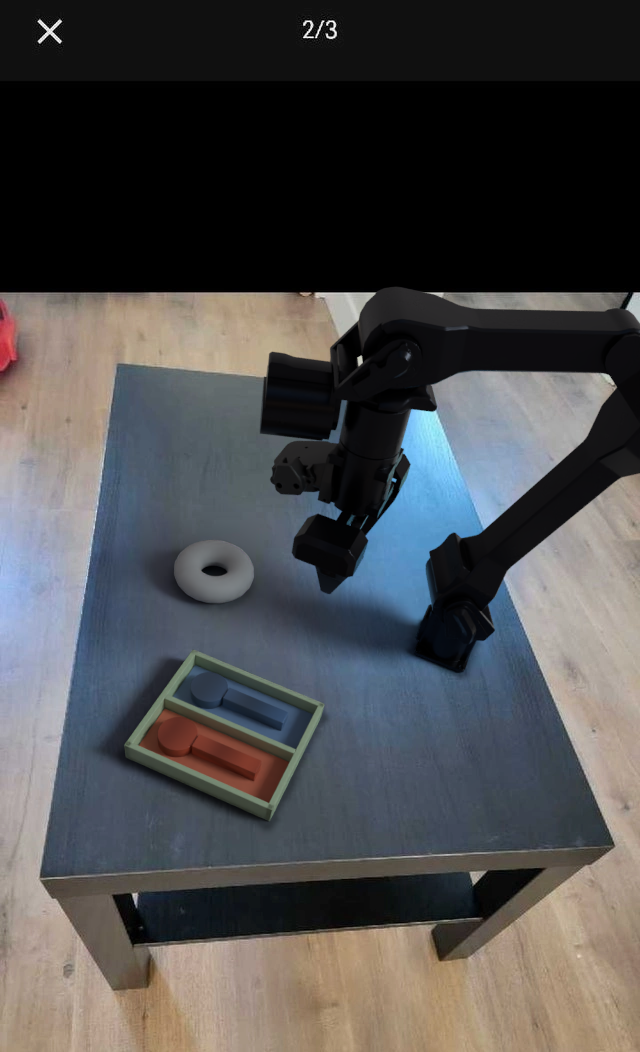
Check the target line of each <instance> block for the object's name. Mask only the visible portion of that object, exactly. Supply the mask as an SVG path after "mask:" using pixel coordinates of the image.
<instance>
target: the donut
mask: <svg viewBox="0 0 640 1052" xmlns="http://www.w3.org/2000/svg"><path fill="white" fill-rule="evenodd" d="M206 567H219V568H222V569H224V570H225V571H226V573H224V574H222V575H210V574H207V573H204V572H203V571H202V570H203V569H205V568H206ZM173 568H174V570H173V575H174V578H175V581H176V583H177V586H178V587H179V588H180V589H181V590H182V592H183V593H185V595H187V596H189V597H191V598H193V599H194V600H196V601H199V602H203V603H207V604H224V603H229V602H233V601H235V600H237V599H239V598H241V597H243V595H244V594H245V593H247V592H248V591H249V589H250V588H251V586H252V583H253V581H254V578H255V567H254V564H253V562H252V560H251V558H250V556H249V554H248V553H246V552H245V550H243V549H242V548H241V547H239V546H237V545H235V544H233V543H232V542H228V541H224V540H220V539H206V540H200V541H196V542H194V543H192V544H189V545H187V546H186V547H185V548H183V550H181V551H180V552H179V554H178V556H177V558H176V559H175V561H174V566H173Z"/></svg>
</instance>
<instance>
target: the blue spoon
mask: <svg viewBox="0 0 640 1052" xmlns="http://www.w3.org/2000/svg"><path fill="white" fill-rule="evenodd" d="M190 697H191V699H192V701H193V702H194V704H196V705H197V706H199V707H201V708H204V709H214V708H217V707H219V706H221V705H222V704H223V705H222V706H223V707H225V708H228V709H230V710H232V711H235V712H237V713H240V714H242V715H244V716H247V717H249V718H251V719H254V720H256V721H259V722H261V723H263V724H266V725H268V726H270V727H273V728H275V729H277V730H280V731H281V730H282V729H283V727H284V725H285V723H286V721H287V717H288V712H287V711H284V710H282V709H280V708H277V707H275V706H273V705H270V704H268V703H265V702H263V701H261V700H258V699H256V698H253V697H251V696H249V695H246V694H244V693H241V692H239V691H237V690H234V689H232V688H229V689H228V684H227V682H226V680H225V679H224V677H222V676H221V675H219V674H217V673H214V672H204V673H201V674H199V675H197V676H196V677H195V678H194V679H193V680H192V682H191V685H190Z"/></svg>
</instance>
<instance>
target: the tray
mask: <svg viewBox="0 0 640 1052" xmlns="http://www.w3.org/2000/svg"><path fill="white" fill-rule="evenodd" d="M204 672H214V673H217V674H219V675H221V676H222V677H224V679H225V680H226V682H227V684H228V689H229V688H232V689H234V690H237V691H239V692H241V693H244V694H246V695H249V696H251V697H253V698H256V699H258V700H261V701H263V702H265V703H268V704H270V705H273V706H275V707H277V708H280V709H282V710H284V711H287V712H288V717H287V721H286V723H285V725H284V727H283V729H282V730H281V731H280V730H277V729H275V728H273V727H270V726H268V725H266V724H263V723H261V722H259V721H256V720H254V719H251V718H249V717H247V716H244V715H242V714H240V713H237V712H235V711H232V710H230V709H228V708H225V707H223V706H222V705H223V704H222V705H221V706H219V707H217V708H214V709H204V708H201V707H199V706H197V705H196V704H194V702H193V701H192V699H191V697H190V685H191V682H192V680H193V679H194V678H195V677H196V676H197V675H199V674H201V673H204ZM324 708H325V703H324V702H321V701H319V700H316V699H314V698H311V697H309V696H306V695H305V694H302V693H299V692H297V691H295V690H292V689H289V688H288V687H285V686H283V685H280V684H278V683H275V682H272V681H270V680H268V679H265V678H263V677H260V676H258V675H256V674H253V673H251V672H249V671H246V670H244V669H242V668H239V667H237V666H234V665H232V664H231V663H230V664H229V663H227V662H224V661H222V660H220V659H217V658H215V657H214V656H213V657H212V656H211V655H208V654H206V653H204V652H201V651H198V650H195V649H191V651H190V652H189V654H188V655H187V657H186V658H185V659H184V661H183V662H182V664H181V665H180V667H179V668H178V669H177V671H176V672H175V673H174V675H173V676H172V677H171V679H170V681H169V682H168V683H167V685H166V686H165V687H164V689H163V690H162V692H161V693H160V694H159V696H158V697H157V699H156V700H155V701H154V703H153V704H152V705H151V707H150V708H149V710H148V711H147V713H146V714H145V715H144V716H143V718H142V719H141V721H140V722H139V724H138V725H137V726H136V728H135V729H134V731H133V732H132V734H131V735H130V736H129V738H128V739H127V740H126V742H125V743H124V745H123V746H124V753H125V754H124V755H125V758H126V759H128V760H130V761H132V762H135V763H138V764H139V765H141V766H145V767H146V768H149V769H151V770H153V771H155V772H157V773H159V774H162V775H165V776H167V777H168V778H171V779H173V780H175V781H178V782H180V783H182V784H184V785H187V786H189V787H191V788H193V789H196V790H198V791H200V792H202V793H204V794H207V795H209V796H212V797H214V798H216V799H218V800H220V801H222V802H224V803H227V804H229V805H232V806H234V807H236V808H238V809H240V810H243V811H245V812H246V813H249V814H252V815H254V816H256V817H258V818H261V819H263V820H265V821H267V822H271V820H272V817H273V816H274V814H275V812H276V810H277V808H278V805H279V804H280V801H281V800H282V797H283V795H284V793H285V792H286V789H287V787H288V785H289V783H290V781H291V779H292V777H293V775H294V773H295V771H296V769H297V766H298V765H299V763H300V761H301V759H302V757H303V755H304V753H305V751H306V749H307V747H308V744H309V742H310V741H311V739H312V737H313V734H314V732H315V730H316V728H317V727H318V724H319V722H320V720H321V718H322V716H323V712H324ZM174 717H183V718H187V719H189V720H190V721H192V722H193V723H194V724H195V726H196V727H197V730H198V735H199V734H200V735H203V736H205V737H207V738H210V739H212V740H214V741H217V742H219V743H221V744H224V745H226V746H228V747H231V748H233V749H235V750H238V751H240V752H242V753H244V754H247V755H249V756H251V757H254V758H256V759H258V760H261V761H262V763H261V769H260V771H259V773H258V775H257V777H256V778H255V780H254V781H252V780H250V779H248V778H245V777H243V776H241V775H238V774H236V773H234V772H232V771H229V770H227V769H225V768H222V767H220V766H218V765H215V764H213V763H211V762H209V761H206V760H204V759H202V758H199V757H197V756H195V755H193V754H192V752H191V753H190V754H188V755H186V756H183V757H171V756H168V755H166V754H165V753H163V752H162V751H161V750H160V748H159V746H158V735H157V734H158V729H159V727H160V725H161V724H162V723H163V722H164V721H166V720H168V719H170V718H174Z"/></svg>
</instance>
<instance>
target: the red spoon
mask: <svg viewBox="0 0 640 1052" xmlns="http://www.w3.org/2000/svg"><path fill="white" fill-rule="evenodd" d="M157 735H158V746H159V748H160V750H161V751H162V752H163V753H165V754H166V755H168V756H171V757H183V756H186V755H188V754H190V753H191V752H192V754H193V755H195V756H197V757H199V758H202V759H204V760H206V761H209V762H211V763H213V764H215V765H218V766H220V767H222V768H225V769H227V770H229V771H232V772H234V773H236V774H238V775H241V776H243V777H245V778H248V779H250V780H252V781H254V780H255V778H256V777H257V775H258V773H259V771H260V769H261V763H262V761H261V760H258V759H256V758H254V757H251V756H249V755H247V754H244V753H242V752H240V751H238V750H235V749H233V748H231V747H228V746H226V745H224V744H221V743H219V742H217V741H214V740H212V739H210V738H207V737H205V736H203V735H200V734H199V735H198V730H197V727H196V726H195V724H194V723H193V722H192V721H190V720H189V719H187V718H183V717H174V718H170V719H168V720H166V721H164V722H163V723H162V724H161V725H160V727H159V729H158V734H157Z"/></svg>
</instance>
